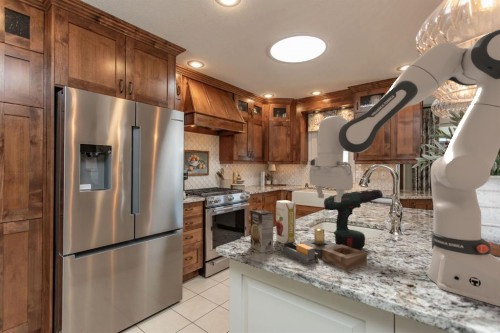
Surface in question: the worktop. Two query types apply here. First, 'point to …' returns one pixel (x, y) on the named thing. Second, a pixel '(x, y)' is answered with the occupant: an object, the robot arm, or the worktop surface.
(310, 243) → the socket block
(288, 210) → the juice carton
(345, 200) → the power drill
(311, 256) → the orange rectangular block
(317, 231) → the brass peg
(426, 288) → the worktop surface
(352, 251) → the brown wooden box
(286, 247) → the rail
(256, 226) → the coffee box
